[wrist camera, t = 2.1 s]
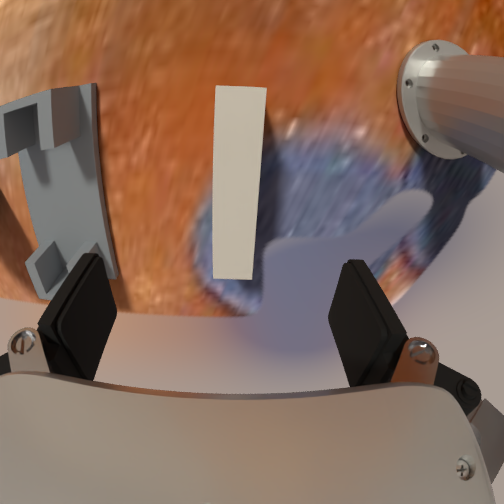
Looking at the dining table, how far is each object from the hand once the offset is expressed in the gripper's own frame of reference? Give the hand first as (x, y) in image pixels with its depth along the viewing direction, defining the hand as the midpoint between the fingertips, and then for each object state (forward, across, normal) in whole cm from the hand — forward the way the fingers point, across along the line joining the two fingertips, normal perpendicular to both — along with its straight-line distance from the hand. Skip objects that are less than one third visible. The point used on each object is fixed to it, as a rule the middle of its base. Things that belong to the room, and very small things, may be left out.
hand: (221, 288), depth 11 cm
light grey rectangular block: (+16, -1, 0) cm, 16 cm away
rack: (+17, +17, +2) cm, 24 cm away
